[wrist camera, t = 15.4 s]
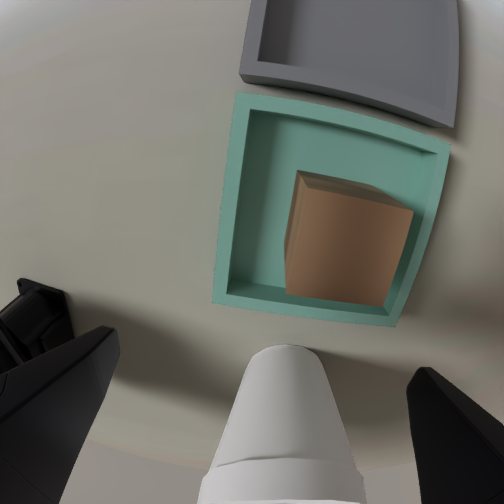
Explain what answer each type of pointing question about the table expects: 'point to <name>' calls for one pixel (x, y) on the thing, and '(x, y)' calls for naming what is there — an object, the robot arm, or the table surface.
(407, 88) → the tray
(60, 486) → the robot arm
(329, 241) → the walnut block
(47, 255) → the table surface
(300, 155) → the tray
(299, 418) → the foam cup
